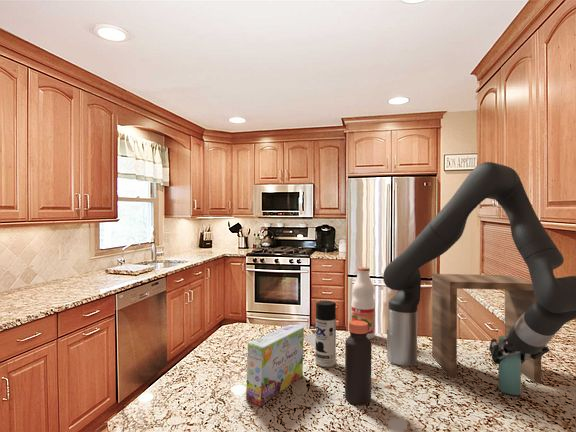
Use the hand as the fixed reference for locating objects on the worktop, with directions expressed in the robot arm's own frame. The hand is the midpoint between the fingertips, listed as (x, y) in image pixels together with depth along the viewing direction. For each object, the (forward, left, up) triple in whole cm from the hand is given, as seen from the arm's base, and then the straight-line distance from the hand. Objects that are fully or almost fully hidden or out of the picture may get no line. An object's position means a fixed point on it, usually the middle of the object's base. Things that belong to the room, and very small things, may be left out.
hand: (505, 361), depth 97 cm
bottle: (-42, -9, -8) cm, 44 cm away
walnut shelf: (0, +14, -8) cm, 16 cm away
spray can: (-50, +13, -8) cm, 52 cm away
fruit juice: (-34, +42, -8) cm, 55 cm away
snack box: (-64, -5, -8) cm, 65 cm away
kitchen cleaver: (-54, +38, -9) cm, 67 cm away
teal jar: (0, -2, -7) cm, 7 cm away
